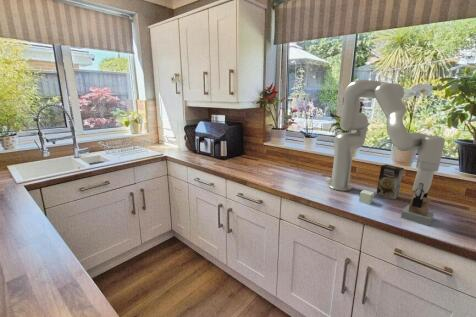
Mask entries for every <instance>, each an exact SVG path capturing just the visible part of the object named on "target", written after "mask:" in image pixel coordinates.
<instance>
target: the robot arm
mask: <svg viewBox="0 0 476 317" xmlns="http://www.w3.org/2000/svg"><path fill="white" fill-rule="evenodd" d="M404 95H405V89H404V87H403V85H401V84H398V83H391V82H388V81H387V82H385V81H379V80H369V79H358V80H353V81H352V82H350V83H348V85H347V86H346V88H345V90H344V93H343V101H342V102H343V103H342V110H341V116H340V119H339V120H340V121H339V127H340V129H341V130H343V131H348V132H342V133H339V134H337V135H336V136H335V137H334V140H333V147H334V148H333V150H334V154H333V155H334V156H333V164H332V172H331V177H329V176H326V177H325V178H324V180H325V182H329V183H328V184H327V186H328V188H330V189H332V190H335V191H341V192H347V191H348V192H349V191H351V190H352V188H353V187H352V186H351V184H350V178H351V171H352V164H353V154H352V150H358V149H360V148H362V147H363V146H364V144H365V141H366V136H367V132H368V131H367V130H368V126H369V119H368V116H367V115H366V114H365V113H361V112H360V111H361V110H360V109H361V100H360V98H369V99H376V102H377V103H378V106H380V109H381V110H382V113H383V114H384V116H385V118H386V132H387V135H388V137H389V139H390V141H391V143H392V144H393V146H394V147H395V148H396V149H397V150H399V151H402V152H409V151H418V156H417V161H416V165H415V168H416V169H417V172H416V175H415V178H414V182H413V186H412V192H415V193H414V195H413V196H414V198H413V202H412V206H414V207H418V208H421V206H422V202H423V199H422V198H423V197H425V198H428V191H429V190H430V188H431V185H432V182H433V178H434V174H435V172H439V168H440V164H441V159H442V156H443V151H444V146H445V144H446V143H445V142H446V140H445V138H444V137H442V136H438V135H429V134H425V133H423V132H422V133H421V132H409V131H408V130H407V129H406V126H405V125H404V121H403V120H404V119H403V118H404V115H405V114H406V113H407V111H408V107H407V106H406V105H405V103H404V101H403V100H402V99H403V98H404ZM349 131H350V132H349Z"/></svg>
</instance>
